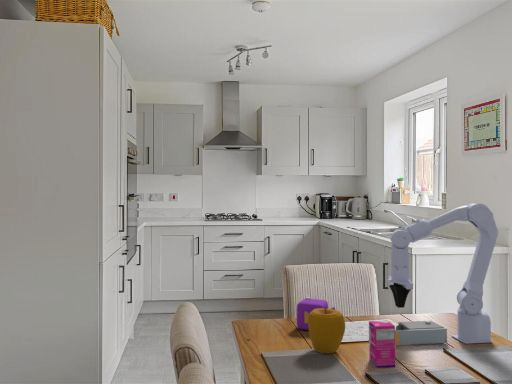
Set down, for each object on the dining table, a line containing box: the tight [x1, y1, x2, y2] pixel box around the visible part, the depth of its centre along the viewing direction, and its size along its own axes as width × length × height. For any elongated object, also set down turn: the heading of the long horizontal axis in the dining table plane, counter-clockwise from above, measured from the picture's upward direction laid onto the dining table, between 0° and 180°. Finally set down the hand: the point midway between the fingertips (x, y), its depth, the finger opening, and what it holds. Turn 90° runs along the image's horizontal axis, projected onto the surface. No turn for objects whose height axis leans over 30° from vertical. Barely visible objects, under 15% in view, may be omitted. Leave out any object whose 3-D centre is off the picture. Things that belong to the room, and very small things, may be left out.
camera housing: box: [395, 320, 445, 346], centre depth 156 cm, size 13×8×6 cm, turn 99°
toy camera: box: [296, 296, 336, 331], centre depth 169 cm, size 11×14×10 cm
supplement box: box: [368, 319, 397, 369], centre depth 134 cm, size 6×6×12 cm
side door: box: [395, 327, 448, 346], centre depth 150 cm, size 18×1×4 cm, turn 99°
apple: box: [308, 308, 346, 355], centre depth 145 cm, size 11×11×13 cm
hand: (400, 306), depth 161 cm, fingers closed
